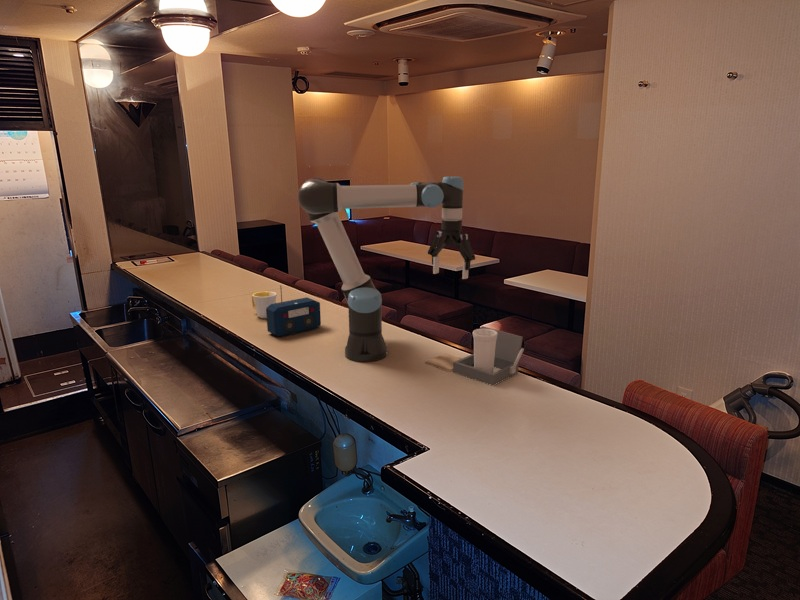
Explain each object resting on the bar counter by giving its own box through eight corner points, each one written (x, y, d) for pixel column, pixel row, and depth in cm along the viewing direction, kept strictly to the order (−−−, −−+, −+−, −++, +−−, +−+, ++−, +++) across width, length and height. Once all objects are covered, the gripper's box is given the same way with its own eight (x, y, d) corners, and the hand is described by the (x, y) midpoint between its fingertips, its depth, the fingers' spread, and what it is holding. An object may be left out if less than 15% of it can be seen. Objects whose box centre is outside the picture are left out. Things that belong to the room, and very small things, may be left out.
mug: (281, 317, 242) (280, 294, 239) (260, 321, 236) (258, 298, 233) (267, 310, 252) (266, 288, 250) (247, 314, 246) (245, 292, 243)
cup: (466, 370, 181) (468, 330, 178) (488, 367, 184) (489, 327, 181) (478, 379, 174) (480, 337, 170) (500, 376, 177) (502, 334, 173)
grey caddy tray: (496, 386, 169) (498, 349, 166) (453, 372, 180) (453, 336, 177) (523, 372, 180) (526, 337, 176) (481, 359, 191) (482, 325, 188)
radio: (276, 339, 213) (273, 289, 208) (266, 333, 220) (263, 285, 215) (322, 328, 226) (320, 281, 221) (311, 323, 233) (309, 278, 227)
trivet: (449, 371, 181) (449, 369, 181) (425, 363, 188) (425, 361, 188) (469, 362, 188) (470, 361, 188) (445, 354, 196) (445, 353, 196)
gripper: (486, 221, 195) (483, 279, 201) (431, 216, 211) (430, 269, 217) (474, 223, 190) (472, 282, 195) (419, 217, 206) (418, 272, 211)
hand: (450, 275), depth 206 cm, fingers open, 13 cm apart
